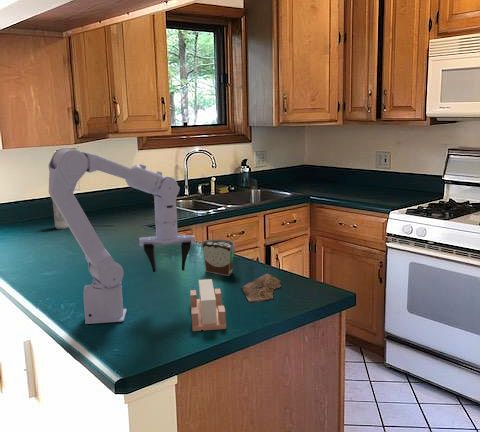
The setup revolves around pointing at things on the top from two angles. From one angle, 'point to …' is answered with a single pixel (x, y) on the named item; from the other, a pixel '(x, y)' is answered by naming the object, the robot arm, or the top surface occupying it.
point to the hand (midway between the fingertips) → (168, 270)
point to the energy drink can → (59, 218)
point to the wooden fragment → (261, 288)
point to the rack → (196, 313)
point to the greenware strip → (207, 301)
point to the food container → (218, 256)
